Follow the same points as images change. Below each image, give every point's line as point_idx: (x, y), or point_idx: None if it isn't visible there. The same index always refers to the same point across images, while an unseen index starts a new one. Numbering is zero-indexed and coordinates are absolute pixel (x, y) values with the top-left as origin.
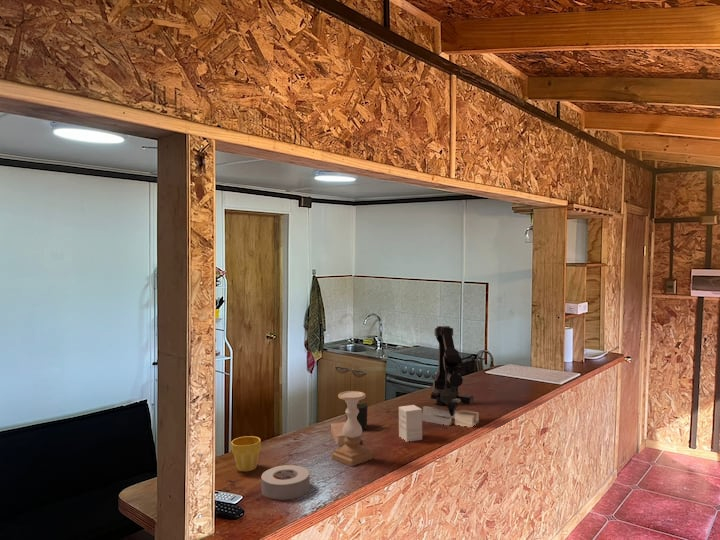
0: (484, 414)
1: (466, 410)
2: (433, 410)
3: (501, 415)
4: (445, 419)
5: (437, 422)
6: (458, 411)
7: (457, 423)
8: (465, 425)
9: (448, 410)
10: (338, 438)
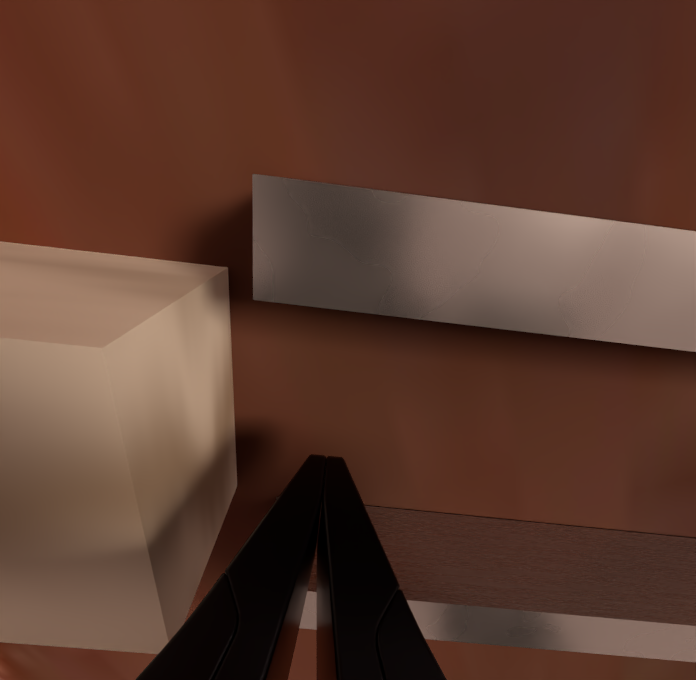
0: (133, 659)
1: (64, 642)
2: (654, 593)
3: (9, 671)
4: (376, 190)
5: (537, 210)
6: None
7: (164, 269)
8: (15, 247)
9: (434, 621)
10: None
